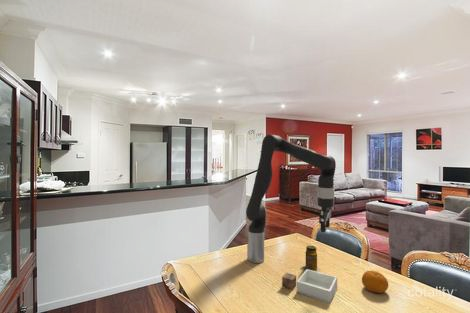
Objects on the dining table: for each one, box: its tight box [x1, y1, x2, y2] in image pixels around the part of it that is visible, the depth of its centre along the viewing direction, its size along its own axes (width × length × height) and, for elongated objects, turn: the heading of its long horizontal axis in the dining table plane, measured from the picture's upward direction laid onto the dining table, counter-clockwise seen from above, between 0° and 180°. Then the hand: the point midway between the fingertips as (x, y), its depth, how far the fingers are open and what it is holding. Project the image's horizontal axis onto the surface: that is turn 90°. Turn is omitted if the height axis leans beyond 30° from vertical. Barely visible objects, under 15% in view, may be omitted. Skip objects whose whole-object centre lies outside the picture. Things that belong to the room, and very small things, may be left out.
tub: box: [296, 269, 338, 304], centre depth 111 cm, size 14×14×5 cm
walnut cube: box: [281, 272, 297, 291], centre depth 114 cm, size 5×5×5 cm
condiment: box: [299, 245, 321, 272], centre depth 132 cm, size 7×8×12 cm
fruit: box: [361, 270, 389, 294], centre depth 111 cm, size 10×10×8 cm
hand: (325, 229), depth 118 cm, fingers open, 8 cm apart
